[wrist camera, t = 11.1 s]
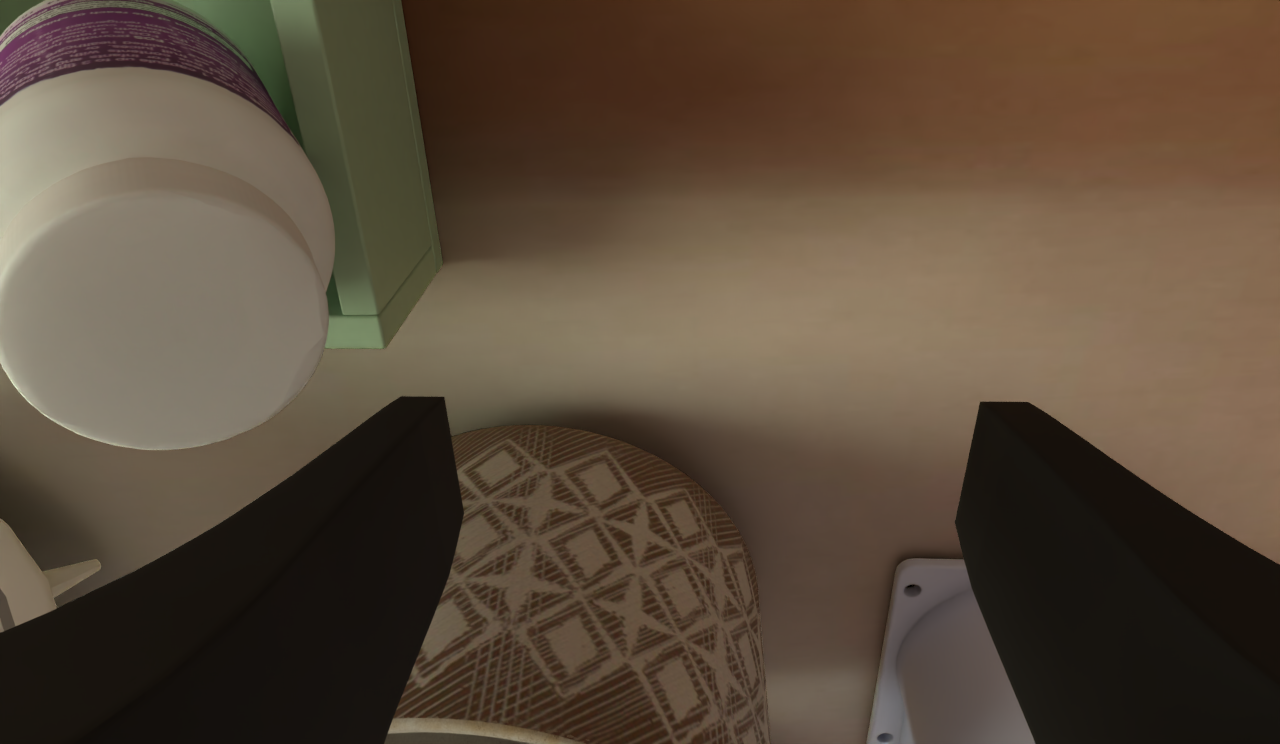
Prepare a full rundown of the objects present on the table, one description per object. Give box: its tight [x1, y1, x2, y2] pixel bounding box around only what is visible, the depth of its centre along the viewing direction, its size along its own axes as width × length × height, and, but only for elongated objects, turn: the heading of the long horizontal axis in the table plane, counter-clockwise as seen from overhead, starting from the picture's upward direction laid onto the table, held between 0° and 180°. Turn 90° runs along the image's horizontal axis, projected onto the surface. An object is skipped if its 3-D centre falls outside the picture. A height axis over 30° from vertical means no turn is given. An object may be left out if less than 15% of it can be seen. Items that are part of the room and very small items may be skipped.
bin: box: [0, 0, 443, 349], centre depth 17 cm, size 11×11×5 cm
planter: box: [384, 425, 771, 744], centre depth 22 cm, size 13×13×10 cm
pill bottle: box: [0, 0, 335, 450], centre depth 15 cm, size 5×5×10 cm
